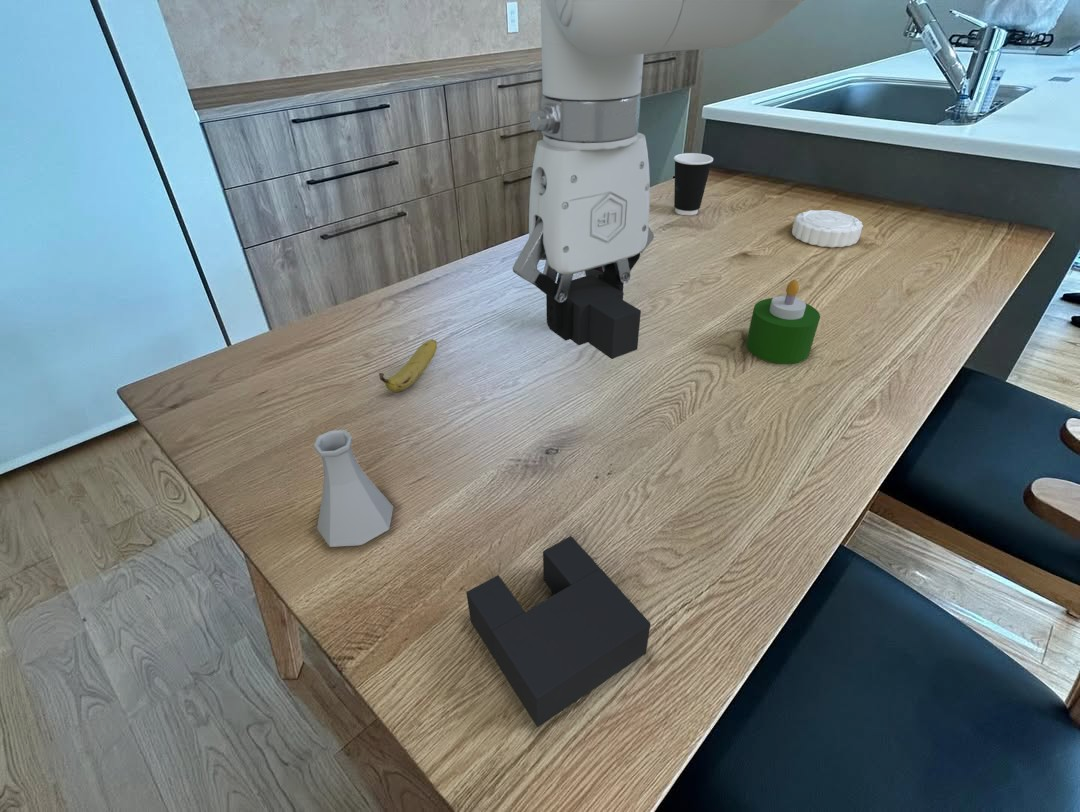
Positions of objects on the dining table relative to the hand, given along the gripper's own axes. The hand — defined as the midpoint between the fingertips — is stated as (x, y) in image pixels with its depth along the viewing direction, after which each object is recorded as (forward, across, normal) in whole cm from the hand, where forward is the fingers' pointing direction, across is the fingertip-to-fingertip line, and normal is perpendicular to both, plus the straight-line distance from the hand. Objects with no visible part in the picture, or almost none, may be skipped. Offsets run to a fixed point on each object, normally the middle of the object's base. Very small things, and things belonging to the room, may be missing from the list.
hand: (584, 323), depth 56 cm
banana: (+15, -11, +22) cm, 29 cm away
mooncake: (+15, +75, +24) cm, 80 cm away
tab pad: (0, 0, -2) cm, 2 cm away
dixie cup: (+15, +64, +50) cm, 82 cm away
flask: (+15, -25, +3) cm, 29 cm away
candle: (+15, +34, +1) cm, 37 cm away
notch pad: (+15, -16, -18) cm, 28 cm away
